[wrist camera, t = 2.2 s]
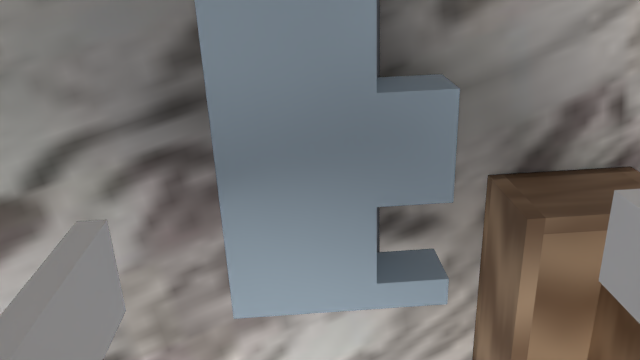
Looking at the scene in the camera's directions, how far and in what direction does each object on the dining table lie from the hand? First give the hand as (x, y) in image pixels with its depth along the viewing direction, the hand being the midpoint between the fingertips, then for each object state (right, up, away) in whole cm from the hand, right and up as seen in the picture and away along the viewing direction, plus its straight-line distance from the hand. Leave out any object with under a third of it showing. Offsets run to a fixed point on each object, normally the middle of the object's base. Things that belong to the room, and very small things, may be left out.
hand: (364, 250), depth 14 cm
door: (-1, +4, +8) cm, 9 cm away
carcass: (+11, -4, +17) cm, 21 cm away
